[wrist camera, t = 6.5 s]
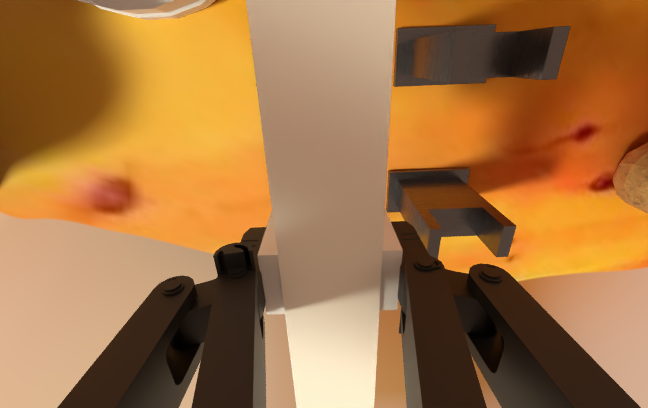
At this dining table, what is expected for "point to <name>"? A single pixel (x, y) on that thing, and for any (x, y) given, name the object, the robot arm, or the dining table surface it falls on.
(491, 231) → the post
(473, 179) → the dining table surface
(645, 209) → the potato
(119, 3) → the dish
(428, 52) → the post
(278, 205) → the rail
